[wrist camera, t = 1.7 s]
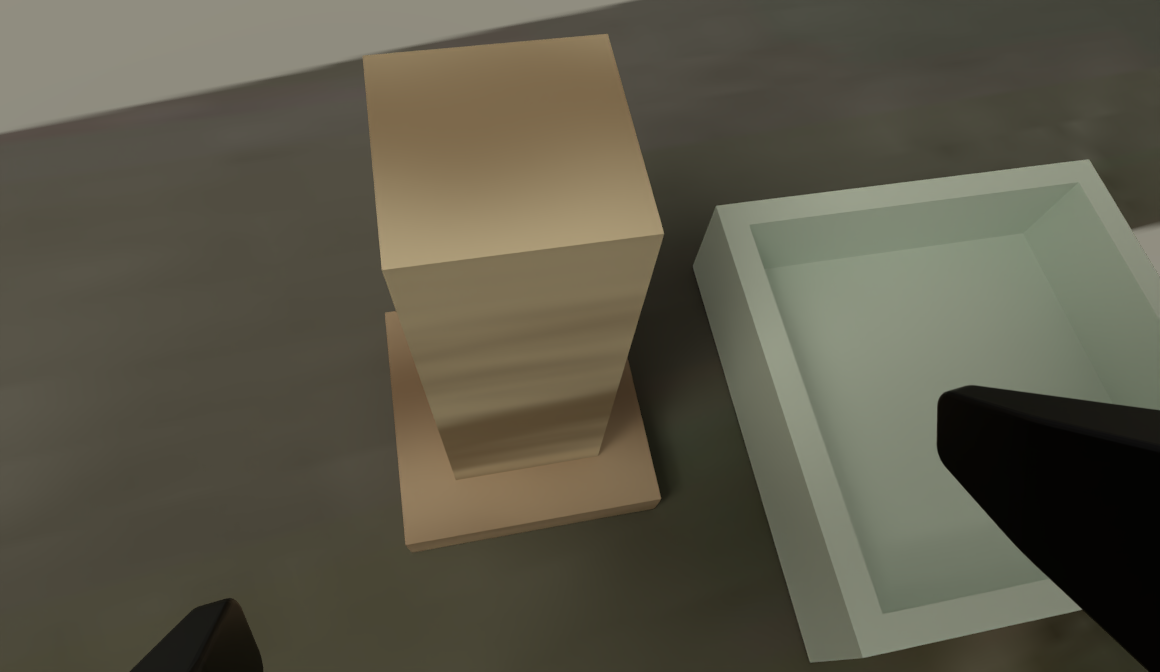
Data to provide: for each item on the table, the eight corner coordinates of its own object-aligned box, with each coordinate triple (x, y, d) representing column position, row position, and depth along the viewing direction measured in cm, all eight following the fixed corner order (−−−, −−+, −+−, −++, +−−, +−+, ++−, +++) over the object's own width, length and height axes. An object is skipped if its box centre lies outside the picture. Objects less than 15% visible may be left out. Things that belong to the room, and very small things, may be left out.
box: (1211, 574, 22) (1327, 555, 18) (809, 662, 20) (863, 658, 17) (1023, 221, 27) (1089, 159, 24) (692, 266, 25) (716, 205, 22)
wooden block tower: (654, 508, 21) (794, 310, 10) (412, 552, 20) (269, 387, 9) (605, 300, 24) (672, -35, 13) (391, 330, 23) (263, -3, 12)
